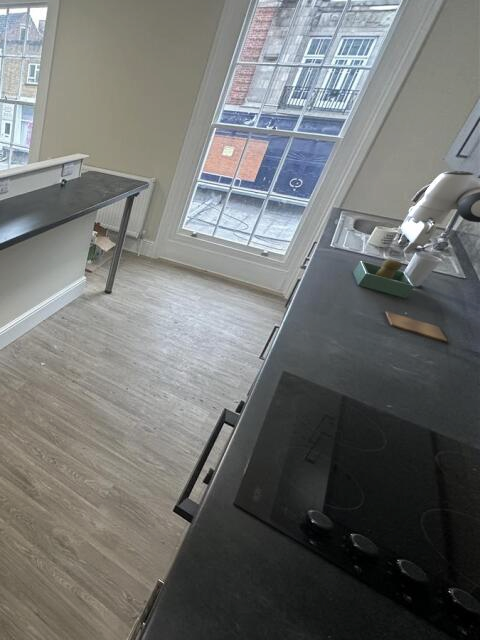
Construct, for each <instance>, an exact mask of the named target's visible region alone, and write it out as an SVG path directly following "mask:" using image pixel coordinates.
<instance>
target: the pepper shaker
mask: <svg viewBox="0 0 480 640" xmlns="http://www.w3.org/2000/svg"><path fill="white" fill-rule="evenodd" d="M382 266H383V267H382V268H381V269H380V270H379V271H378V272H377V273H376V274H375V275H377V276H380V277H384V278H388V279H392V278H393V276H394V274H395V272H396V270H400V269H401V268H402V266H403V263H402V262H401V261H399V260H396V259H393V258H387V259H385V260H384V261H383V262H382Z"/></svg>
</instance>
